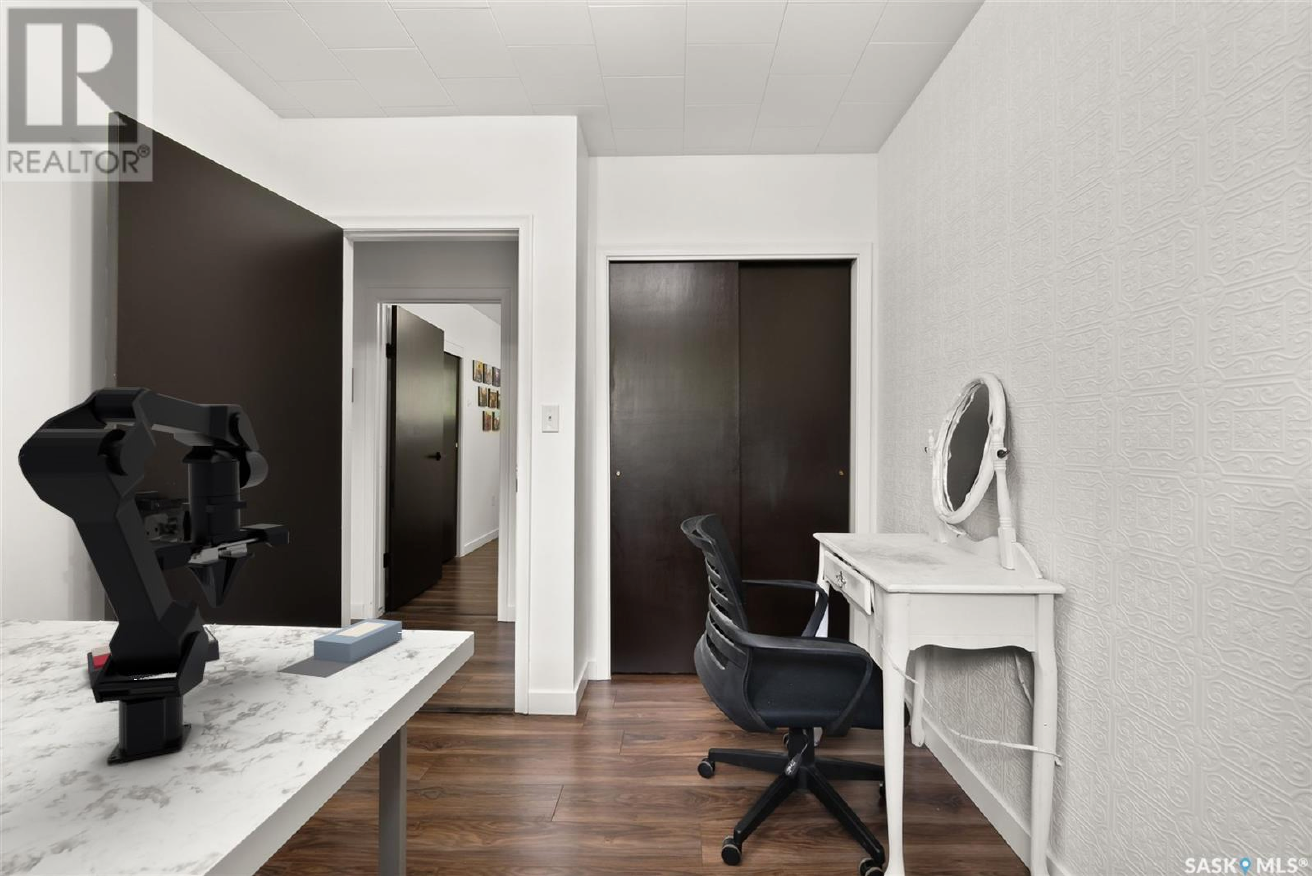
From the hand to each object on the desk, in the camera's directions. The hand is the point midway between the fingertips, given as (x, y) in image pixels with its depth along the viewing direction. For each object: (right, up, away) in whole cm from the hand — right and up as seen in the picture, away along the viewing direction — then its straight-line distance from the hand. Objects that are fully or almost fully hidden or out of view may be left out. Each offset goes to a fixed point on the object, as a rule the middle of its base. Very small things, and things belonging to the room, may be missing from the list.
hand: (216, 606), depth 85 cm
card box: (+10, -10, +11) cm, 18 cm away
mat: (+11, -12, +14) cm, 21 cm away
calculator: (-17, -13, +11) cm, 24 cm away
